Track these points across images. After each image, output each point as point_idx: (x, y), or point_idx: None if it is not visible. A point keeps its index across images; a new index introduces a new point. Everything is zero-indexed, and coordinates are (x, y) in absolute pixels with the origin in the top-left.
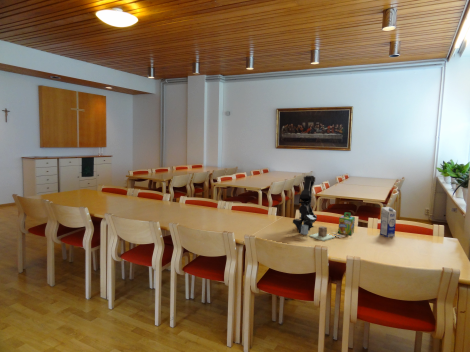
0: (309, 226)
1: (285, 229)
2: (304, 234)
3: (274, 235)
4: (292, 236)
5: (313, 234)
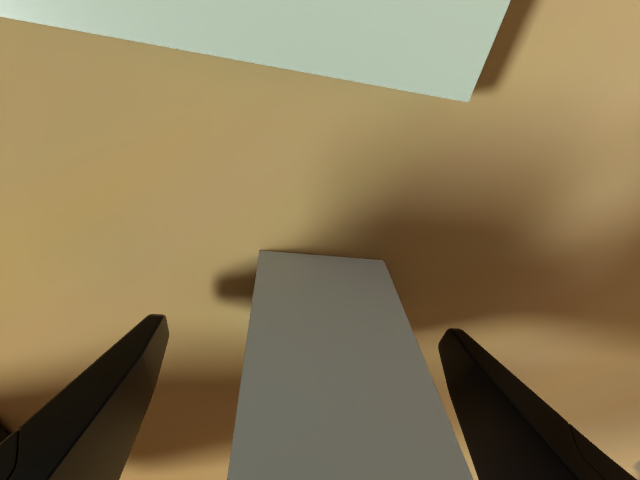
0: (87, 444)
1: None
2: (380, 264)
3: (608, 417)
4: (587, 318)
5: (308, 44)
